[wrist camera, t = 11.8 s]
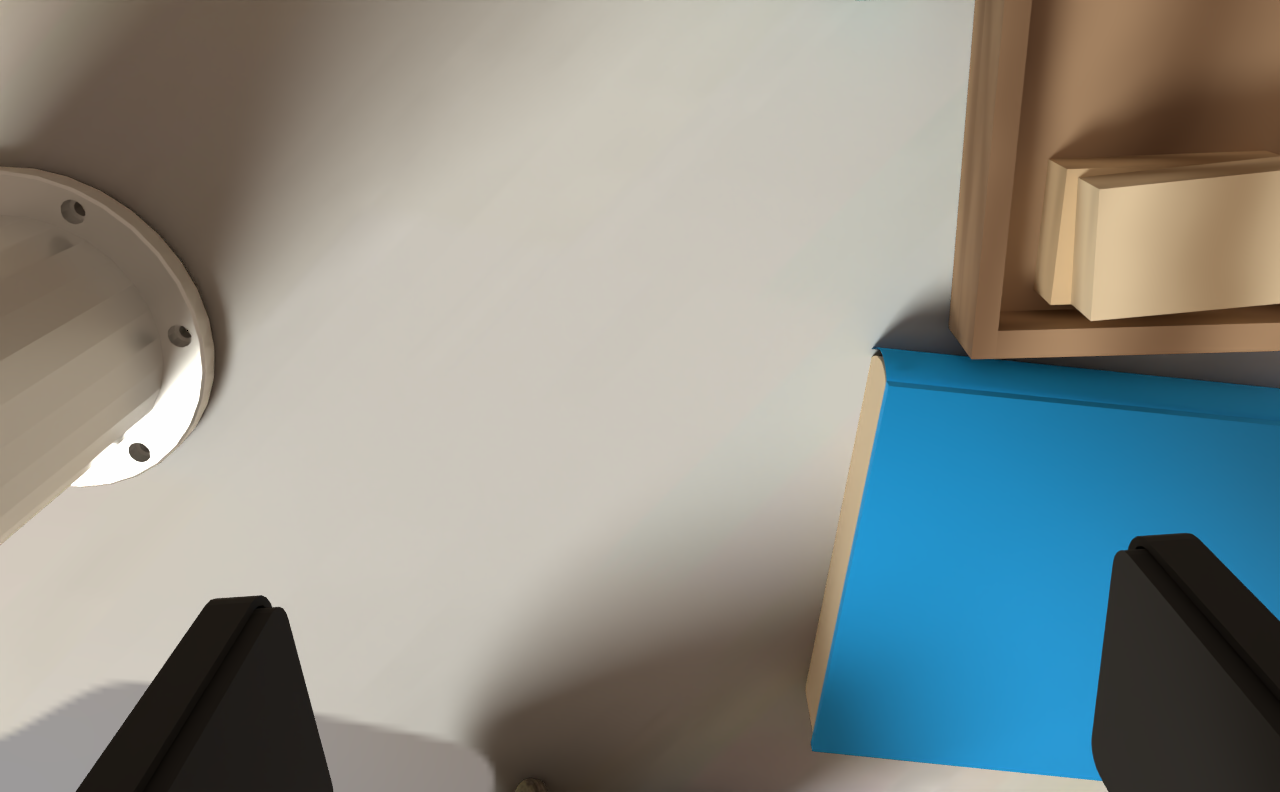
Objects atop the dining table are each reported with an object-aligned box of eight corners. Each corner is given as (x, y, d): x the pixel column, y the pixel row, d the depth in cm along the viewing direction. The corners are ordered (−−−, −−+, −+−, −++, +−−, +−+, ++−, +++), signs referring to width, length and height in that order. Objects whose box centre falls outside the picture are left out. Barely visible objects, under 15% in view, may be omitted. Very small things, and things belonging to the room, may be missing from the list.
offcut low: (1033, 288, 35) (1050, 304, 33) (1048, 158, 33) (1067, 169, 31) (1239, 282, 34) (1267, 298, 33) (1265, 150, 33) (1296, 160, 31)
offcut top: (1070, 303, 33) (1091, 321, 31) (1077, 177, 31) (1099, 189, 30) (1271, 284, 33) (1302, 301, 31) (1289, 155, 31) (1323, 166, 29)
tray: (948, 327, 37) (971, 359, 34) (995, -242, 30) (1029, -265, 27) (1283, 317, 36) (1336, 349, 33) (1414, -267, 29) (1496, -294, 26)
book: (1420, 813, 41) (812, 763, 40) (1353, 738, 45) (799, 691, 44) (1620, 439, 34) (888, 377, 34) (1520, 389, 38) (865, 333, 37)
